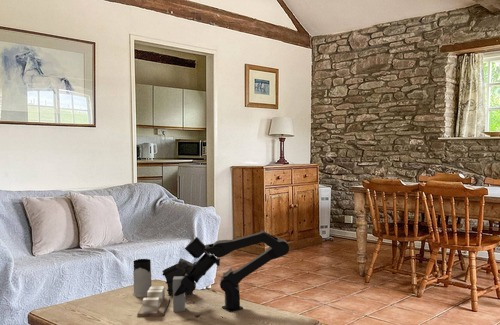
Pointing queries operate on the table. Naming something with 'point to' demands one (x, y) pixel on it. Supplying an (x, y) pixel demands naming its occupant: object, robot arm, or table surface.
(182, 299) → the block
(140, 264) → the glass holder
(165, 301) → the board
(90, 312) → the table surface
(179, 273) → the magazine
